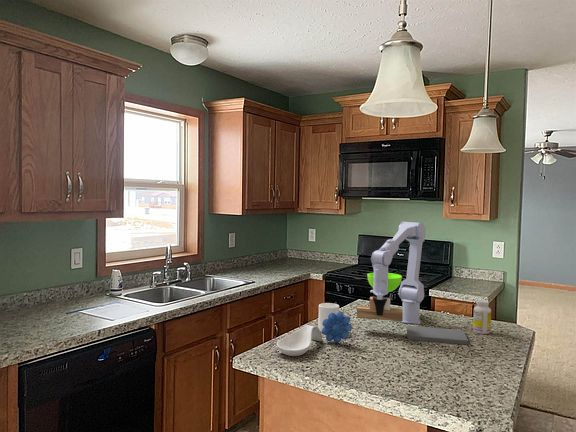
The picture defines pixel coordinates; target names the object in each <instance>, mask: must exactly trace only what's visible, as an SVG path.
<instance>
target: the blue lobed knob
mask: <svg viewBox="0 0 576 432" xmlns="http://www.w3.org/2000/svg"><path fill="white" fill-rule="evenodd" d="M350 322H351V317H350V316H349V315H345V314H344V312H343V311H339V312H338V313H337V314H335V313H330V314H329V315H328V319H325V320H323V326H324V328H323V329H322V332H321V335H322V336H323V335H324V336H325V340H326V341H328V342H334V343H335V344H338V343H340V342H341V341H342V340H346V339H348V338H349V332H350V331H352V330H353V325H352V324H351V323H350Z"/></svg>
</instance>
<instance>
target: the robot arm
mask: <svg viewBox="0 0 576 432" xmlns="http://www.w3.org/2000/svg"><path fill="white" fill-rule="evenodd" d="M426 229H427V228H426V226H425V224H424V223H423V222H413V221H412V222H411V221H401V222H400V224H399V225H398V231H397V232H396V233H395V234H394V236H393V238H389V239H387V240H386V241H385V242H384V243H383V245H382V246H381V247H380V248H379V249H378V250H374V251H372V254H371V257H370V261H371V265H372V268H373V273H374V280H373V287H372V289H371V290H370V291H369V292H370V293H373V296H372V297H373V301H374V303H375V307H376V313H377V315H380V316H382V315H383V310H384V306H385V303H386V301H387V299H383V298H388V294H389V292H388V273H389V266H390V265H391V263H392V260H393V257H394V256H395V254H396V253H397V252H398V250H399V248H400V244H401V243H403V241H405V240H406V241H407V242H408V243H409V252H408V261H407V262H408V263H407V270H406V278H405V279H403V280H401V283H400V285H399V286H400V287H399V289H398V296H399V298H400V299H401V302H402V308H403V320H402V321H400V322H401V323H402V324H414V325H415V324H416V325H420V324H421V319H420V304H421V303H422V301H423V300H424V298H425V289H424V288H425V285H424V284H423V283H422V282H421V281H420V280H419V276H420V268H421V257H422V250H423V249H422V248H423V243H424V242H425V239H426V231H427V230H426Z"/></svg>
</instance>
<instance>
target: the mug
mask: <svg viewBox="0 0 576 432" xmlns="http://www.w3.org/2000/svg"><path fill="white" fill-rule="evenodd" d="M338 312H340V305H339V304H336V303H332V302H322V303H320V304H318V322H317V324H318V326H317V327H318V328H319V330H320V332H321V333H322V329H323V328H324V326H323V320H325V319H328V315H329V314H330V313H335V314H337V313H338Z"/></svg>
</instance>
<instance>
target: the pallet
mask: <svg viewBox="0 0 576 432" xmlns="http://www.w3.org/2000/svg"><path fill="white" fill-rule="evenodd" d="M356 319H365V320H366V319H367V320H377V321H378V320H380V321H391V322H392V321H393V322H401V321H402V320H403V307H390V310H383V315H382V316H380V315H377V313H376V309H370V305H359V304H358V305H357V306H356Z"/></svg>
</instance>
